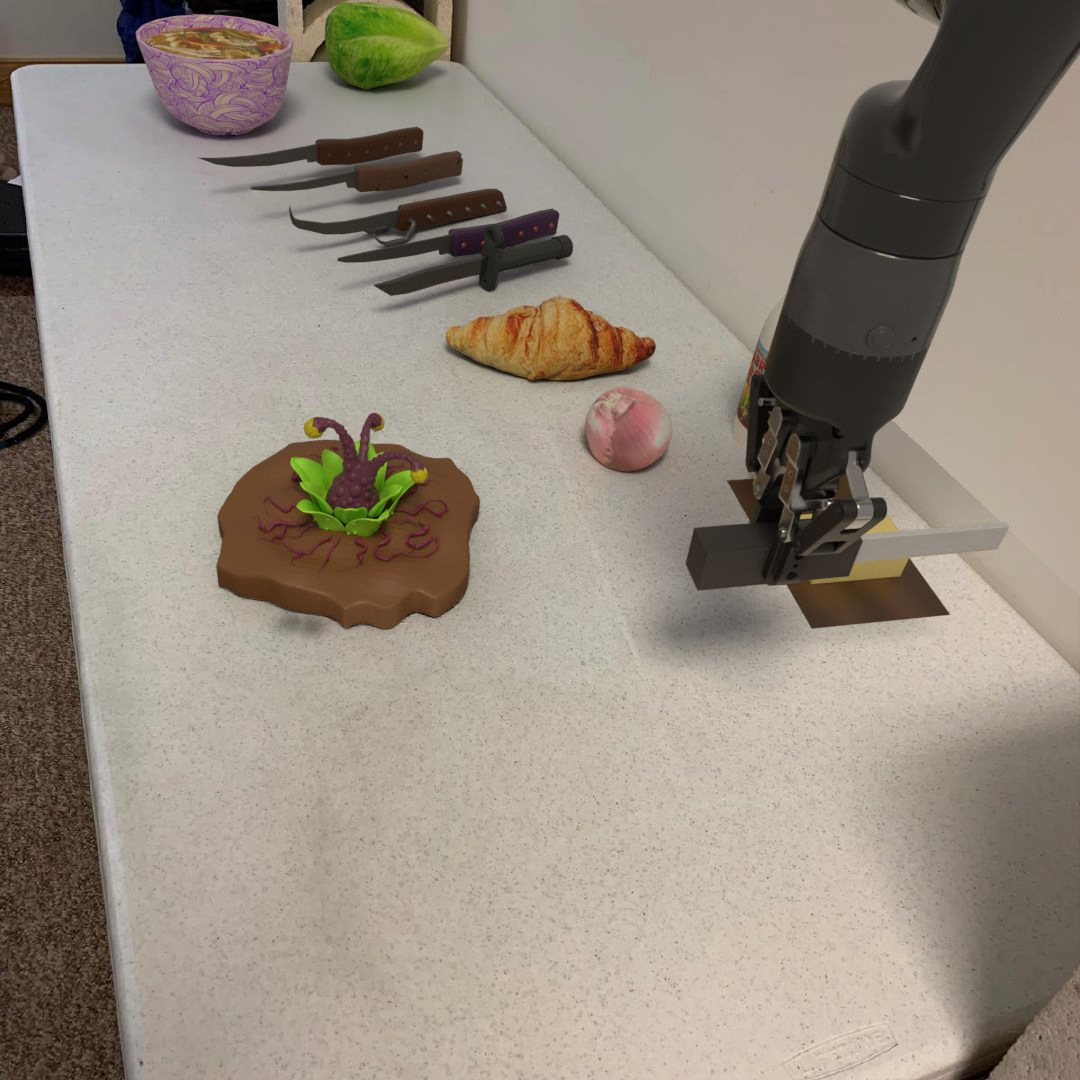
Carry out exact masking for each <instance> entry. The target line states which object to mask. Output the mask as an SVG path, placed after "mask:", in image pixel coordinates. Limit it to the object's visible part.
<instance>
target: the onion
mask: <svg viewBox="0 0 1080 1080" xmlns="http://www.w3.org/2000/svg"><path fill="white" fill-rule="evenodd" d="M673 426H674V425H673V421H672V417H671V415H670V412H669V410H668V409H667V408H666V407H665V405H664V404H663V403H662V402H661V401H660V400H658V399H657V398H656V397H655V396H653V395H651V394H649V393H647V392H645V391H642V390H639V389H637V388H633V387H629V386H628V387H627V386H618V387H613V388H609V390H606V391H604V392H603V393H601V394H600V395H599V396H598V397H597V398H596V399H595V400H594V401H593V402H592V404H591V405H590V407H589V409H588V411H587V413H586V416H585V422H584V429H585V436H586V441H587V442H588V447H589V450H590V451H591V454H592V455H593V457H594V458H595V460H596V461H597V462H599V463H600V464H602V466H605V467H606V468H608V469H611V470H615V471H618V472H635V471H639V470H642V469H644V468H647V467H648V466H650V465H652V464H653V463H655V461H658V459H659V458H661V456H663V454H664V453H665V452H666V450H667V449H668V447H669V446H670V444H671V440H672V436H673V431H674V429H673V428H674V427H673Z"/></svg>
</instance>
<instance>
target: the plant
mask: <svg viewBox="0 0 1080 1080" xmlns="http://www.w3.org/2000/svg"><path fill="white" fill-rule="evenodd" d="M385 423H386V422H385V419H384V417H383V416H382V414H380V413H377V412H372V413H369V414H368V416H367V418H366V419H365V420H364V423H363V425H362V428H361V432H360V433H359V437H360V439H358V440H356V441H354V439H353V437H352V436H351V434H349V433H348V429H346V428H345V426H344V425H343V424H342V423H341V424H340V422H339V421H336V420H335V419H331V418H328V417H324V416H314V417H311V418H310V419H308V420H307V421H305V423H304V425H303V432H304V434H305V435H306V436H307V437H308V438H310V439H313V440H308V441H306V440H305V441H296V442H291V443H288V444H287V445H286V446H284V447H283V448H281V449H280V450H278V451H277V452H275V453H274V454H272V455H270V456H269V457H266V459H263V460H262V461H261V462H260V461H259V463H257V464H255V465H254V466H252V467H251V468H250V469H249V470H247V472H245V473H244V474H243V475H242V476H241V477H240V478H239V479H238V480H237V481H236V483H235V484H234V486H233V488H232V489H231V492H229V494H228V496H227V497H226V499H225V500H224V502H223V504H222V505H221V507H220V509H219V511H218V513H217V514H216V518H217V524H218V531H219V536H220V539H221V541H222V542H221V546H220V552H219V556H218V559H217V560H216V564H215V566H216V577H217V586H218V587H219V588H222V589H225V590H228V591H229V592H231V593H233V594H235V595H236V596H237V597H239V598H240V597H241V598H244V599H249V600H258V601H263V602H269V603H271V604H273V605H276V606H277V607H279V608H281V609H284V610H287V611H289V612H290V611H291V612H296V613H302V614H307V615H314V616H315V615H316V616H325V617H326V618H327V617H328V618H330V619H332V620H334V621H336V622H337V623H339V624H340V625H341V627H343V628H344V629H347V628H350V627H352V626H356V625H360V624H363V625H370V626H374V627H377V628H380V629H383V630H389V629H392V628H394V627H396V626H397V625H398V624H400V623H401V622H402V621H403V620H404V619H405V618H406V617H408V616H409V615H411V614H413V613H414V614H415V613H421V614H424V615H426V616H429V617H432V618H438V617H439V616H441V615H443V614H444V613H446V612H448V611H449V610H451V609H452V608H454V607H455V606H456V605H457V604H458V603H459V602H460V601H461V600H462V599H463V597H464V596H465V595H466V592H467V589H468V586H469V579H470V569H471V555H470V553H471V552H470V538H471V533H472V529H473V526H474V525H475V523H477V521H478V520H479V516H480V507H481V499H480V496H479V495H478V494H477V492H476V491H475V488H474V485H473V482H472V481H471V479H470V477H469V476H468V474H466V473H465V472H464V471H462V470H461V469H460V468H459V467H458V466H457V465H456V464H455V462H454V460H453V459H452V458H450V457H431V456H430V457H429V456H427V455H426V456H425V455H423V454H420V453H418V452H415V451H412V450H410V449H408V448H407V447H406V446H404V445H401V444H398V443H397V444H396V443H372V442H371V437H370V436H371V430H372V432H373V431H374V432H379V431H381V430H383V429H384V427H385ZM328 428H329V429H333V430H334V432H335V434H336V435H338V439H319V438H321V437H322V436H323V435H324V434H325V432H326V430H327V429H328Z"/></svg>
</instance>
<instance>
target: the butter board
mask: <svg viewBox="0 0 1080 1080" xmlns="http://www.w3.org/2000/svg"><path fill="white" fill-rule="evenodd" d="M753 481H754V478H743V479H742V478H741V479H740V478H739V479H727V480H726V482H727V484H728V485H729V487H730V489H731V491H732V492H733V494H734V495H735V498H736V499H737V501H738V503H739V505H740V506H741V508H742V510H743V512H744V513H745V515H746V517H747V519H748V520H749V521H750V519H751V516H752V513H753V510H754V507H755V503H756V500H757V498H756V497H755V495H754V490H753V487H754V486H753ZM805 514H813V511H805V512H803V513H802V514H801V515H805ZM786 586H787V588H788V590H789V592H790V593H791V596H792V598H794V601H795V603H796V604H797V606H798V607H799V610H800V611H801V613H802V614H803V617H804V618H805V620H806V621H807V623H808V625H809V627H810V629H822V628H832V627H842V626H852V625H862V624H873V623H881V622H882V623H884V622H892V621H893V622H894V621H901V620H912V619H923V618H931V617H933V618H934V617H942V616H950V615H951V613H950V612H949V611H948V610H947V607H946V606H945V605H944V604H943V602H942V601H941V600H940V597H938V595H937V593H936V592H935V591H934V589H933V588H932V587H931V586H930V584H929V583H928V582H927V580H926V579H925V577H924V576H923V574H922V572H921V571H920V570H919V569H918V567H917V566H916V565H915V563H914V562H913V560H912V559H911V557H910V558H909V559H908V561H907V563H906V565H905V567H904V569H903V571H902V574H901V576H899V577H888V578H876V579H865V580H854V581H842V582H831V583H820V584H811V583H810V582H809V580H805V581H799V582H798V583H794V584H789V585H786Z"/></svg>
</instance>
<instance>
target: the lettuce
mask: <svg viewBox="0 0 1080 1080" xmlns="http://www.w3.org/2000/svg"><path fill="white" fill-rule="evenodd" d="M449 41H450V40H449V38H448V37H447V35H446V34H445V32H443V31H442V30H441V29H440V28H439V27H437V26H436V25H435V24H434V23H432V22H431V21H429V20H427V18H425V17H423V16H420V15H418V14H417V13H414V12H412V11H410V10H407V9H404V8H401V7H397V6H394V5H389V4H388V5H387V4H381V3H376V2H370V1H365V2H364V1H363V2H349V1H340V2H338V4H337V5H335V7H334V8H333V9H332V10H331V11H330V12H329V13H328V14H327V16H326V19H325V24H324V45H325V51H326V57H327V60H328V63H329V66H330V69H331V70H332V72H333V73H335V74H336V75H337V76H338V77H339V78H340V79H341V80H343V81H344V82H345V83H346V84H349V85H352V86H354V87H357V88H360V89H362V90H365V91H368V90H372V89H375V88H379V87H382V86H387V85H392V84H395V83H396V84H397V83H399V82H404V81H406V80H408V79H410V78H413V77H414V76H416V75H418V74H420V73H421V72H422V71H423V70H425V69H426V68H427V67H428V66H430V65H431V64H432V63H433V62H435V61H437V60H438V59H439V58H440V57H442V56H443V55H444V54H446V52H447V51H448V50H449V48H450V42H449Z"/></svg>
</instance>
